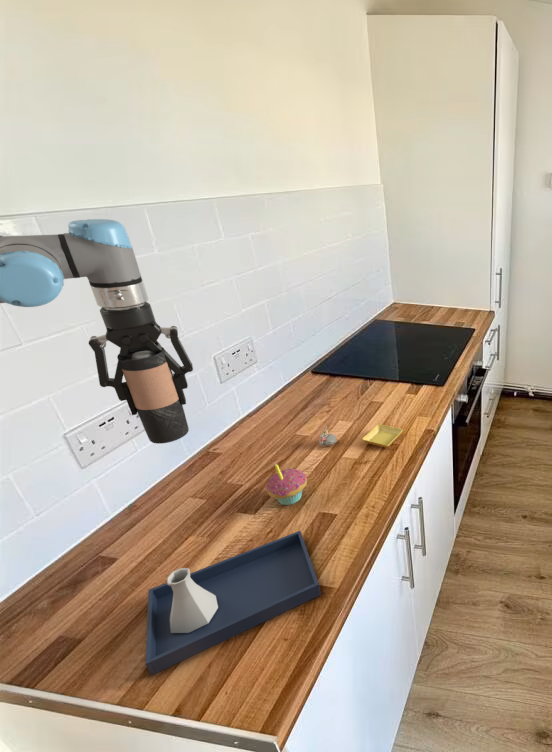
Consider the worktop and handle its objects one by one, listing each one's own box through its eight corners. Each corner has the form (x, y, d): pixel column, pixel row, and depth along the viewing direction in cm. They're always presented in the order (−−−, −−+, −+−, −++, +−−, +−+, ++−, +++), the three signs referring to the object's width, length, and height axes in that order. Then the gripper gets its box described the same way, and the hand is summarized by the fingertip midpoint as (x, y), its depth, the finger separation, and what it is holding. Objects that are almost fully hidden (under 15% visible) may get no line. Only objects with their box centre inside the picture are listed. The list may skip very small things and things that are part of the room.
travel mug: (194, 422, 100) (169, 343, 92) (185, 441, 94) (158, 357, 85) (154, 427, 98) (124, 346, 89) (142, 447, 91) (109, 361, 83)
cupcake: (295, 513, 98) (286, 472, 93) (261, 508, 99) (250, 466, 94) (316, 488, 106) (309, 448, 101) (285, 483, 107) (275, 443, 102)
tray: (151, 675, 67) (145, 664, 66) (153, 600, 78) (148, 589, 77) (321, 594, 81) (318, 584, 80) (302, 540, 92) (300, 530, 91)
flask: (176, 602, 78) (159, 563, 73) (222, 591, 80) (209, 553, 76) (163, 640, 72) (143, 601, 67) (213, 627, 74) (198, 588, 70)
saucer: (361, 445, 123) (360, 439, 122) (378, 429, 130) (378, 423, 129) (388, 451, 120) (387, 445, 120) (404, 435, 128) (403, 429, 127)
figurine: (340, 443, 123) (338, 425, 120) (328, 451, 119) (325, 433, 117) (326, 437, 125) (323, 420, 122) (314, 446, 121) (311, 428, 118)
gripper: (46, 318, 74) (94, 428, 84) (190, 303, 86) (217, 402, 95) (54, 306, 80) (98, 411, 90) (188, 293, 91) (215, 388, 101)
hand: (159, 406), depth 93 cm, fingers closed on travel mug, 8 cm apart
